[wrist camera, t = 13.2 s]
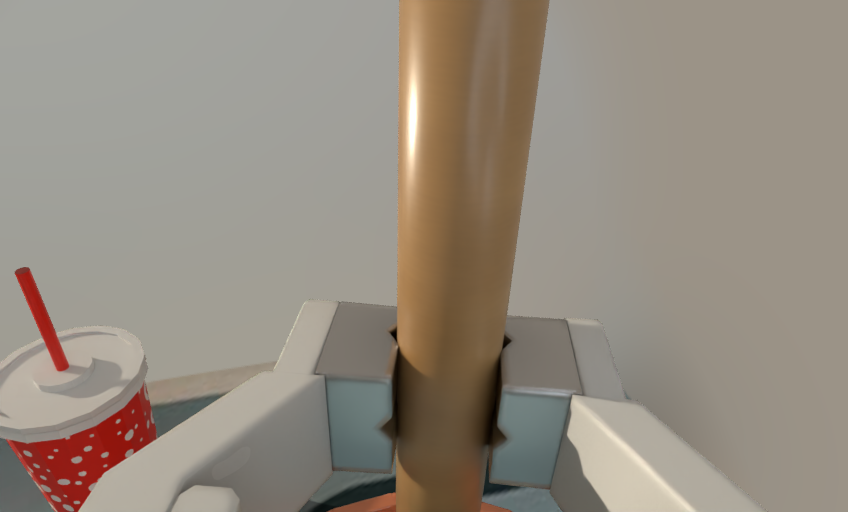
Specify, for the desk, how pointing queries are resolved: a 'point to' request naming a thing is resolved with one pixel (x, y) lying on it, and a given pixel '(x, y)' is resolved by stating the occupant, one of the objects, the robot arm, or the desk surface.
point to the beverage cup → (73, 403)
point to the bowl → (384, 507)
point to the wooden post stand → (457, 231)
